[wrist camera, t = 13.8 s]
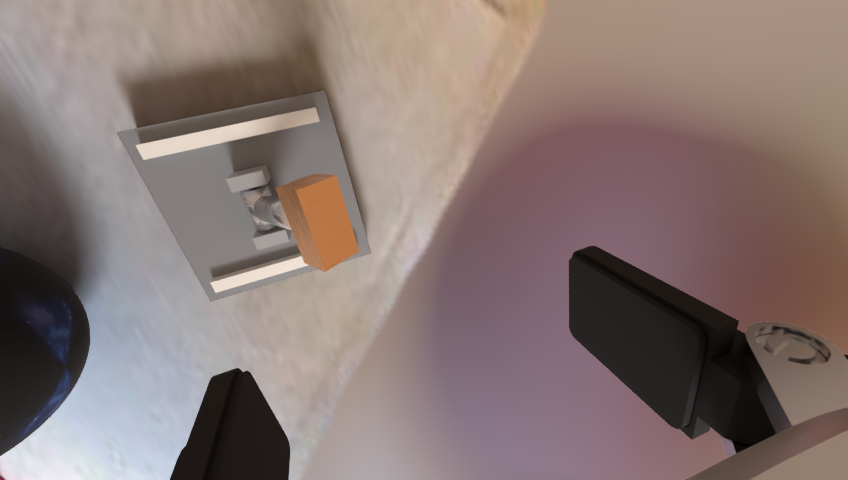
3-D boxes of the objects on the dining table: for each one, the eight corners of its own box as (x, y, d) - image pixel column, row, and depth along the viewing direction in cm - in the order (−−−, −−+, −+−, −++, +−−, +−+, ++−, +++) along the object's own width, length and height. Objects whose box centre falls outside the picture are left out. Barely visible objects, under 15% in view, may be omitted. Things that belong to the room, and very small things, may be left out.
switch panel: (136, 128, 25) (94, 136, 20) (323, 91, 28) (325, 89, 23) (219, 284, 31) (201, 319, 26) (366, 241, 34) (375, 265, 29)
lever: (225, 180, 25) (295, 190, 18) (259, 169, 26) (336, 175, 19) (253, 241, 27) (325, 271, 20) (283, 228, 28) (359, 251, 21)
